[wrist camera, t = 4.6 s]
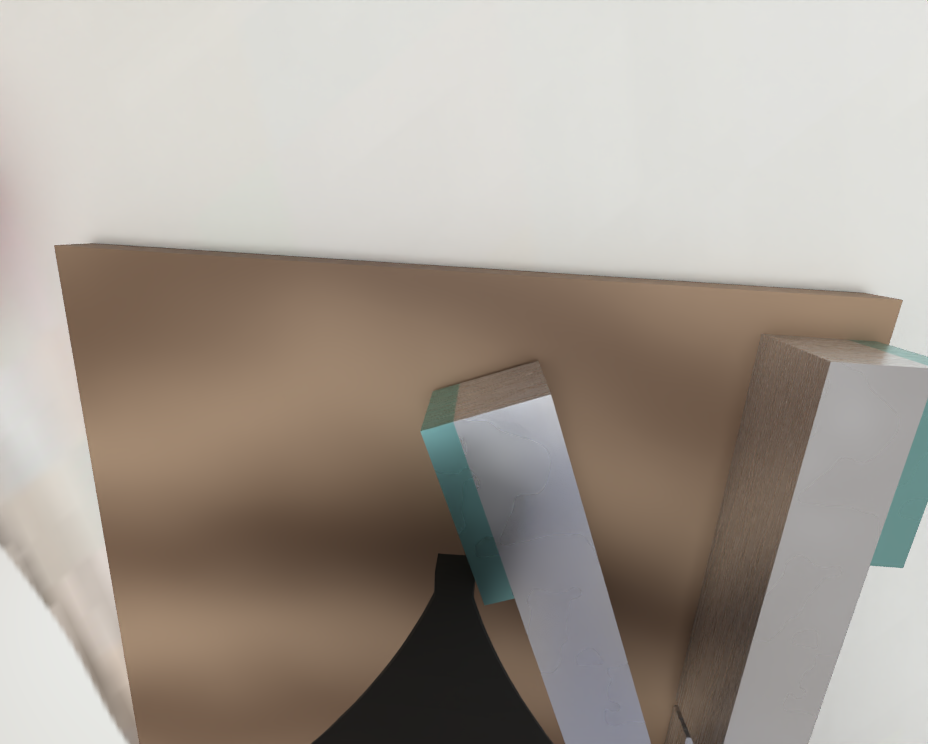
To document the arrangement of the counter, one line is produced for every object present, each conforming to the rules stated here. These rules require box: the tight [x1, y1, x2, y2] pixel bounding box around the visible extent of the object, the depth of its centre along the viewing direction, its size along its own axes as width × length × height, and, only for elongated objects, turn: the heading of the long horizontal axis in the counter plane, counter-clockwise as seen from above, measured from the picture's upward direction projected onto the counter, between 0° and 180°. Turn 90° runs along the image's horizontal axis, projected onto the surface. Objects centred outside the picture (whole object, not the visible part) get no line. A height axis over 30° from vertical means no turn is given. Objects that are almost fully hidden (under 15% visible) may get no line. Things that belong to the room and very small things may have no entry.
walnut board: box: [54, 243, 903, 744], centre depth 15 cm, size 17×20×1 cm
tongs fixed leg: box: [665, 334, 928, 744], centre depth 13 cm, size 16×4×3 cm, turn 177°
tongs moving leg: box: [420, 361, 651, 744], centre depth 13 cm, size 13×3×2 cm, turn 18°
